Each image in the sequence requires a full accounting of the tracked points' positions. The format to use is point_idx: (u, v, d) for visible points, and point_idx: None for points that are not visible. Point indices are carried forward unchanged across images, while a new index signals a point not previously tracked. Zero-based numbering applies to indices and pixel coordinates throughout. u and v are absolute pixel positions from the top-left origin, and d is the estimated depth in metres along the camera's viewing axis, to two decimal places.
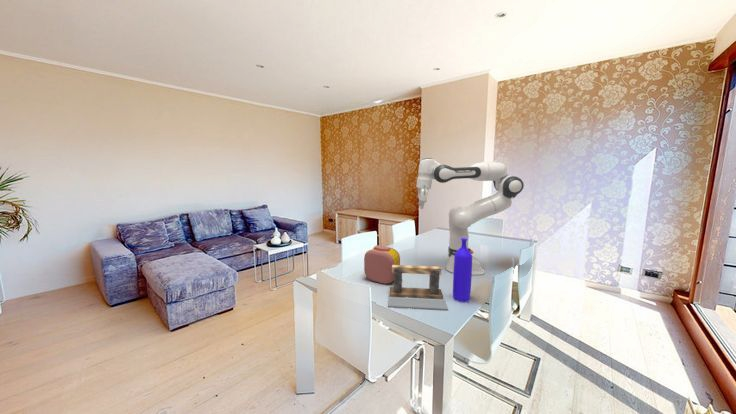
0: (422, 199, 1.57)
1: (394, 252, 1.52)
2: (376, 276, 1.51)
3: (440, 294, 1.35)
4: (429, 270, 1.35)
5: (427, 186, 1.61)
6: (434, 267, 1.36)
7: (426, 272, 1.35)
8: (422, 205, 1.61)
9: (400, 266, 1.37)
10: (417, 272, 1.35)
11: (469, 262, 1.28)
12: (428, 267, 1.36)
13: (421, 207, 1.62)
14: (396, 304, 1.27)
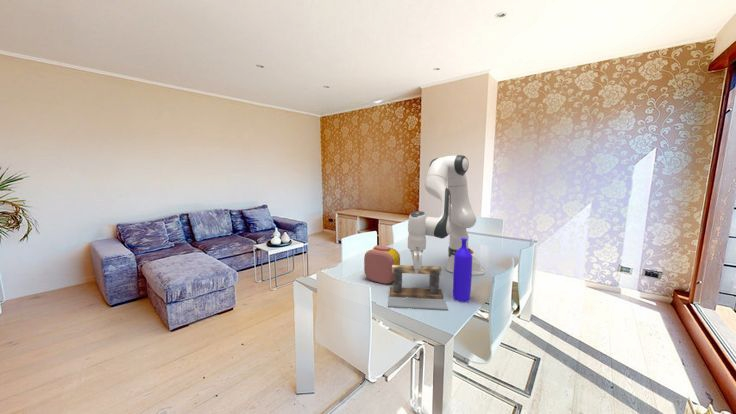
0: (416, 266, 1.26)
1: (394, 252, 1.52)
2: (376, 276, 1.51)
3: (440, 294, 1.35)
4: (429, 270, 1.35)
5: (421, 247, 1.31)
6: (434, 267, 1.36)
7: (426, 272, 1.35)
8: (417, 269, 1.33)
9: (400, 266, 1.37)
10: None
11: (469, 262, 1.28)
12: (428, 267, 1.36)
13: (416, 271, 1.34)
14: (396, 304, 1.27)
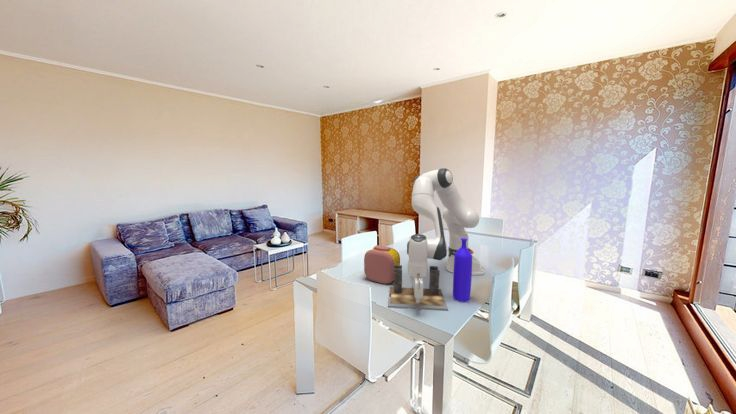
0: (417, 295, 1.17)
1: (394, 252, 1.52)
2: (376, 276, 1.51)
3: (440, 294, 1.35)
4: (431, 301, 1.26)
5: (422, 274, 1.22)
6: (436, 297, 1.27)
7: (427, 303, 1.26)
8: (418, 298, 1.23)
9: (400, 296, 1.29)
10: (418, 303, 1.27)
11: (469, 262, 1.28)
12: (430, 297, 1.27)
13: (417, 301, 1.24)
14: (396, 304, 1.27)
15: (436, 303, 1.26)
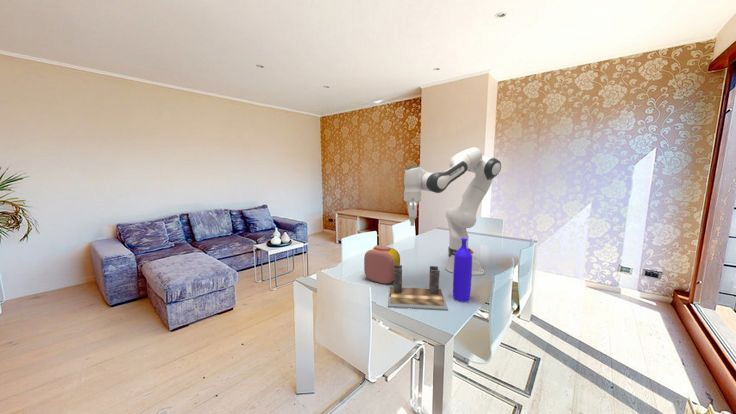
0: (411, 215, 1.34)
1: (394, 252, 1.52)
2: (376, 276, 1.51)
3: (440, 294, 1.35)
4: (431, 301, 1.26)
5: (416, 199, 1.39)
6: (436, 297, 1.27)
7: (427, 303, 1.26)
8: (412, 221, 1.39)
9: (400, 296, 1.29)
10: (418, 303, 1.27)
11: (469, 262, 1.28)
12: (430, 297, 1.27)
13: (412, 224, 1.39)
14: (396, 304, 1.27)
15: (436, 303, 1.26)
